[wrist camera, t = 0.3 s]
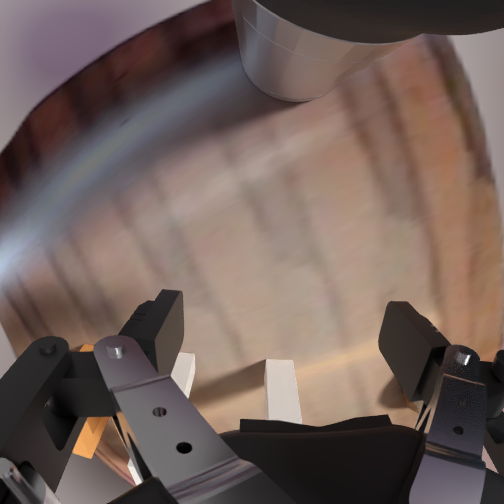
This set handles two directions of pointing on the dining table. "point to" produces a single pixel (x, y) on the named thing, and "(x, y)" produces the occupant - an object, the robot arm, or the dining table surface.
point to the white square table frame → (276, 390)
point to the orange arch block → (90, 428)
